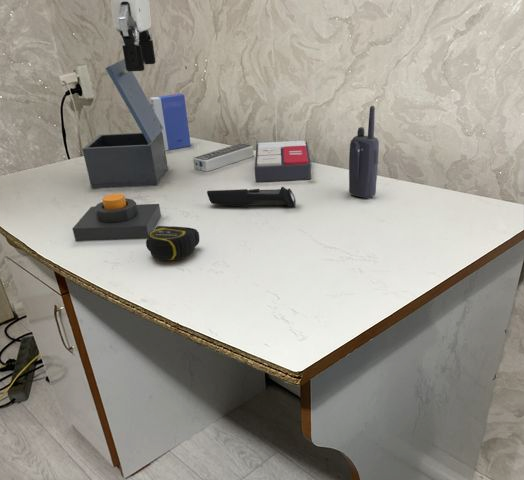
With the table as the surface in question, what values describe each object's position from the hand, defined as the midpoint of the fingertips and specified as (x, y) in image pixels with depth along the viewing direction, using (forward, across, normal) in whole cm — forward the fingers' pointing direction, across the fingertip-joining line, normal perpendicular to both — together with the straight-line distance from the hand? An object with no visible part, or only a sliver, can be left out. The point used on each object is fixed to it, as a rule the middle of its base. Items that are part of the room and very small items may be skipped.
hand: (141, 67), depth 101 cm
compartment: (+21, 0, -6) cm, 21 cm away
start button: (+17, +28, -1) cm, 33 cm away
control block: (+21, +28, -1) cm, 35 cm away
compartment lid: (+6, 0, -2) cm, 6 cm away
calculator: (+20, -1, +26) cm, 33 cm away
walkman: (+21, -24, -1) cm, 32 cm away
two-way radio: (+20, +17, +40) cm, 48 cm away
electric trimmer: (+21, +20, +21) cm, 36 cm away
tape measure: (+21, +39, +10) cm, 45 cm away
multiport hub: (+21, -9, +13) cm, 26 cm away
